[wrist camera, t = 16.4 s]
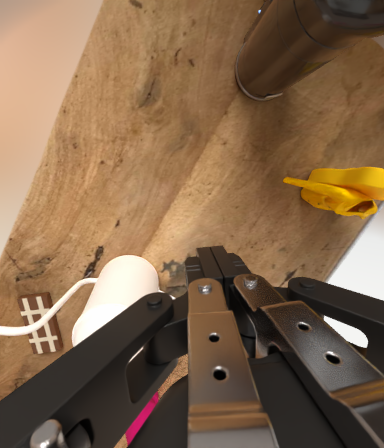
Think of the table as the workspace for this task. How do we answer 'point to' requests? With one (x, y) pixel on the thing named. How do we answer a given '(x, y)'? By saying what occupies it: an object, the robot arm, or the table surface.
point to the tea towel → (32, 312)
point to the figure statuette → (343, 190)
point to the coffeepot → (103, 297)
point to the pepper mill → (141, 418)
